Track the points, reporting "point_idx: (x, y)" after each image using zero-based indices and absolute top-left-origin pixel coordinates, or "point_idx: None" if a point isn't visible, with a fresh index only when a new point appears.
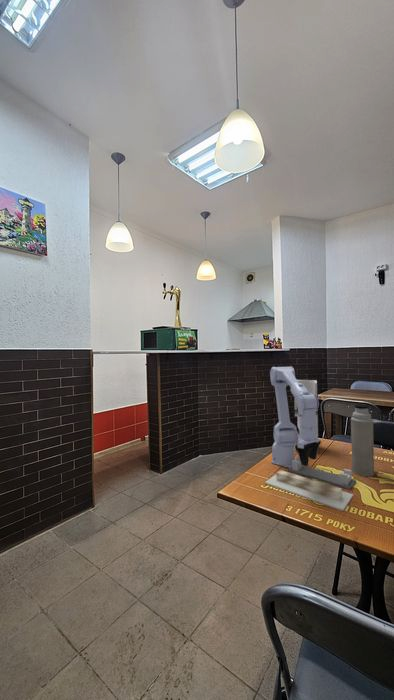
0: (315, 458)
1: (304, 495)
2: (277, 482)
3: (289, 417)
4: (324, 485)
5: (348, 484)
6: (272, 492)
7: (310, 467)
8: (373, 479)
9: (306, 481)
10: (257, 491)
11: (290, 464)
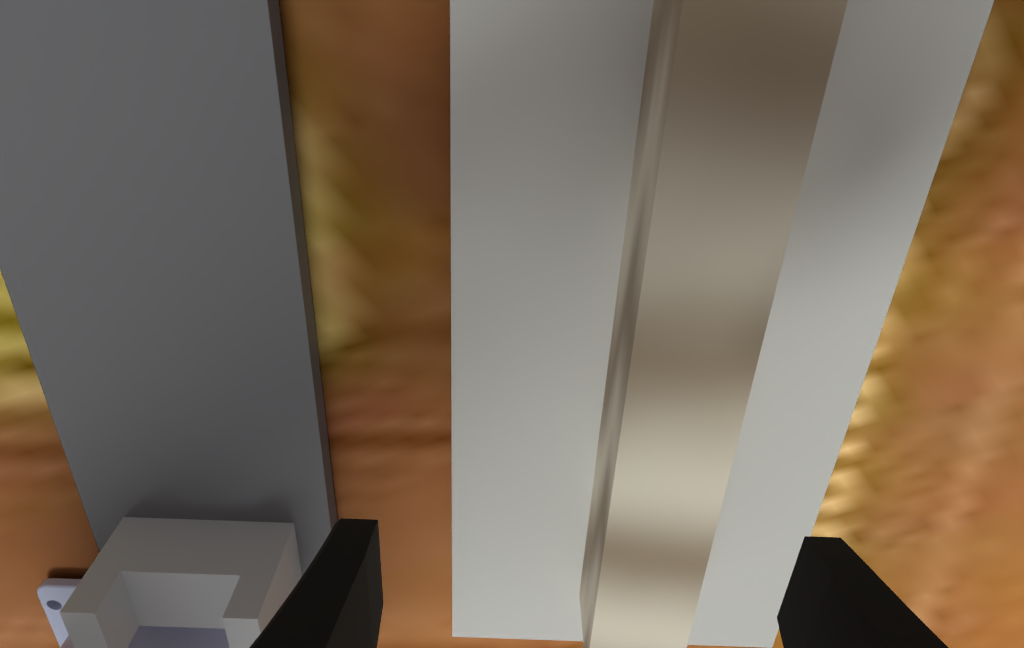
0: (341, 528)
1: (888, 277)
2: (714, 574)
3: None
4: (748, 103)
5: None
6: (914, 536)
7: (67, 449)
8: None
9: (747, 362)
10: (952, 625)
11: None
